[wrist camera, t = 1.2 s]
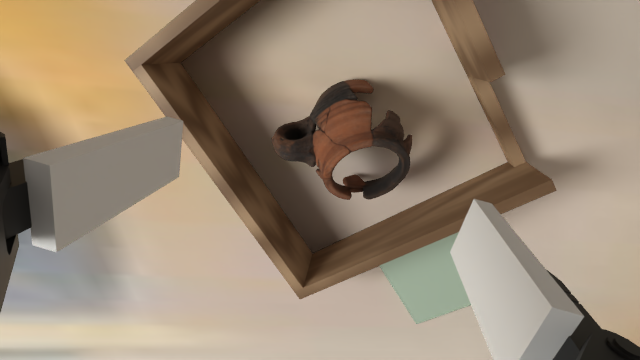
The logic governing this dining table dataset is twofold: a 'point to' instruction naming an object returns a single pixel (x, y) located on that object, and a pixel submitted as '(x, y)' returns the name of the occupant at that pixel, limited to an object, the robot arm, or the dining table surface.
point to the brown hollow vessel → (344, 139)
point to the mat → (428, 280)
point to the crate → (256, 200)
